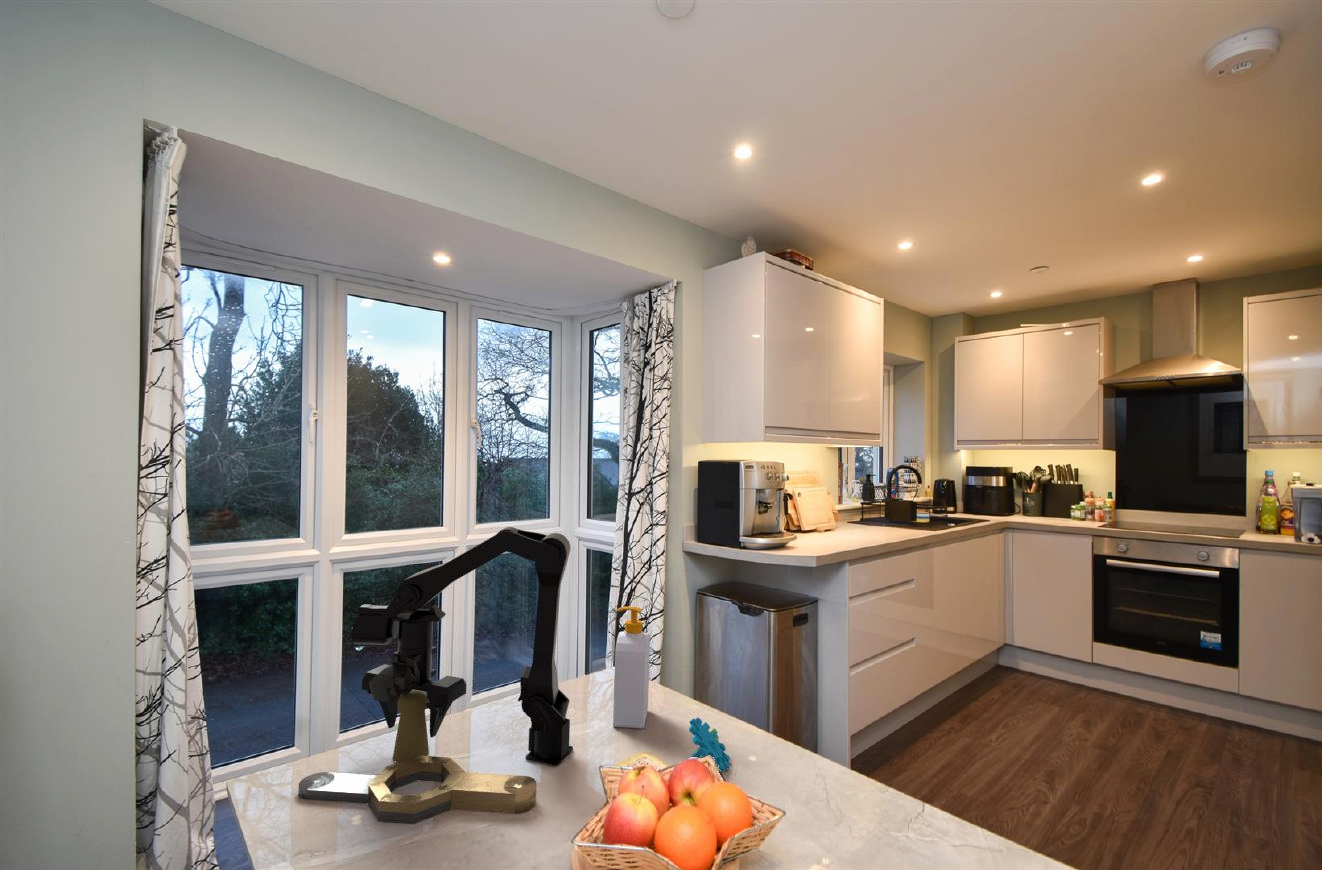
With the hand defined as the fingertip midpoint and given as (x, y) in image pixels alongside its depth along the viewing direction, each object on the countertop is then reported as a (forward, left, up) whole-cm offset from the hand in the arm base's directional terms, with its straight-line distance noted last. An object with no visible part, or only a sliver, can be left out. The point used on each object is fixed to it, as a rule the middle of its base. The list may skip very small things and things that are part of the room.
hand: (411, 732), depth 106 cm
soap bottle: (-31, -28, -4) cm, 42 cm away
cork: (0, 0, -4) cm, 4 cm away
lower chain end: (-4, +12, -4) cm, 13 cm away
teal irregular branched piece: (-51, -17, -4) cm, 54 cm away
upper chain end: (-16, +8, -4) cm, 19 cm away
